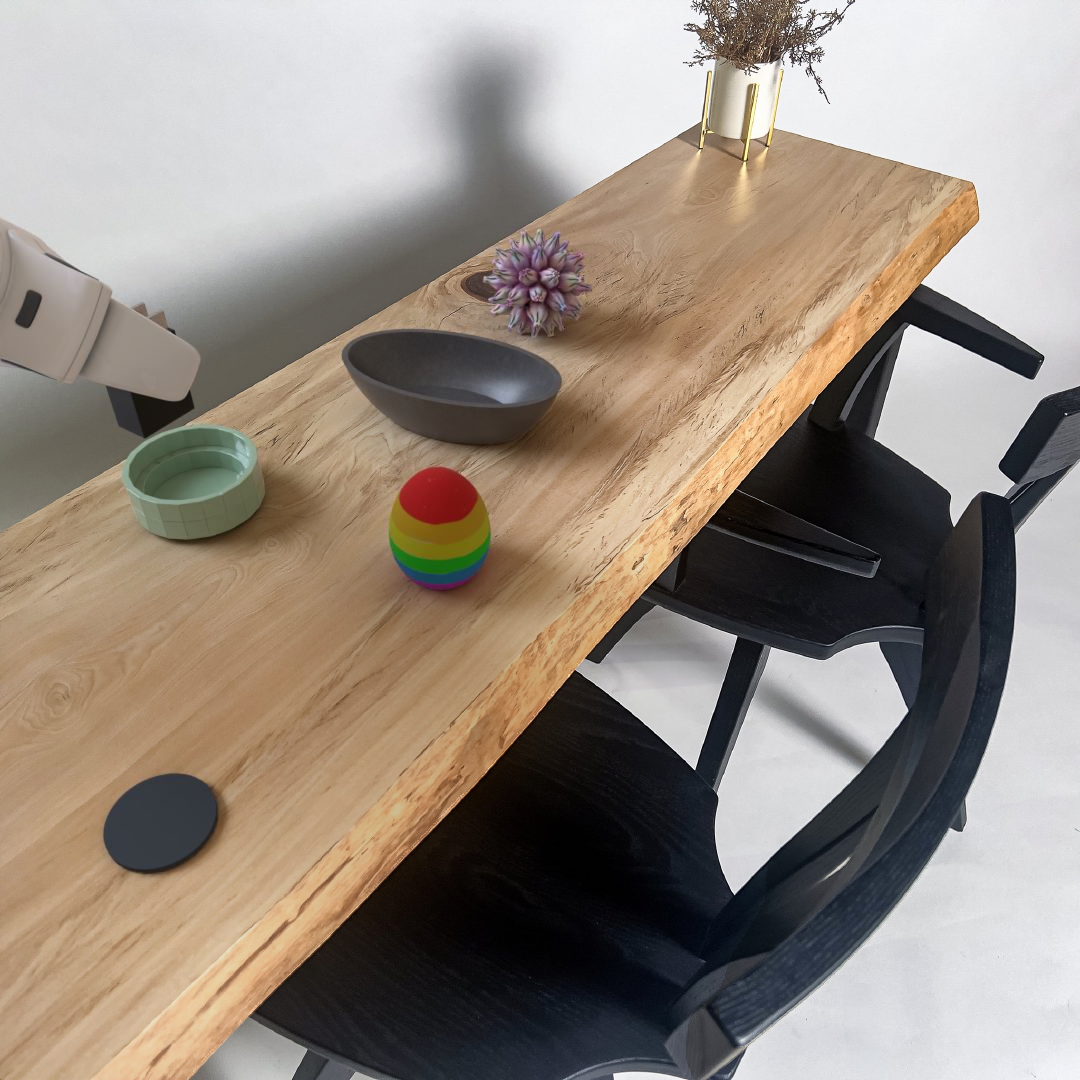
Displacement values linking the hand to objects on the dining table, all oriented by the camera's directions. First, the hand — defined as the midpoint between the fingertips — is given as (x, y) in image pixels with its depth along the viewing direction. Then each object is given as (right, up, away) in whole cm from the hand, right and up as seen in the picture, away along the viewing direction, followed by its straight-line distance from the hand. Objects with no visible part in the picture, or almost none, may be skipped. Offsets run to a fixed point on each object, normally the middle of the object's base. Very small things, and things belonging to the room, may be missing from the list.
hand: (148, 358), depth 72 cm
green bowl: (-1, -10, +14) cm, 17 cm away
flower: (+29, +10, +38) cm, 48 cm away
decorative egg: (+21, -16, +8) cm, 28 cm away
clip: (-1, -4, +3) cm, 5 cm away
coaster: (+5, -32, -10) cm, 34 cm away
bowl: (+21, -2, +24) cm, 32 cm away
